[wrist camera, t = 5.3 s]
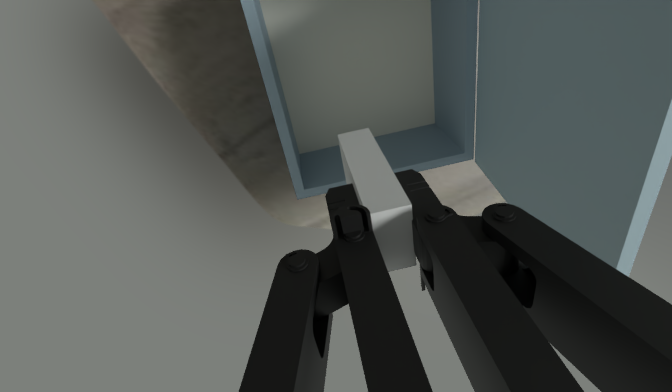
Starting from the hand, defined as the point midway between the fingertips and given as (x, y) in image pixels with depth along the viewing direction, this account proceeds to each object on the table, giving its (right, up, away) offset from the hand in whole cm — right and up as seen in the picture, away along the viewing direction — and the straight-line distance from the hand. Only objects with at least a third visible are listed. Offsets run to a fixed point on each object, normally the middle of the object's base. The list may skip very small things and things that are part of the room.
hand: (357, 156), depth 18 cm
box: (+1, +11, +17) cm, 20 cm away
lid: (+10, +4, +3) cm, 11 cm away
